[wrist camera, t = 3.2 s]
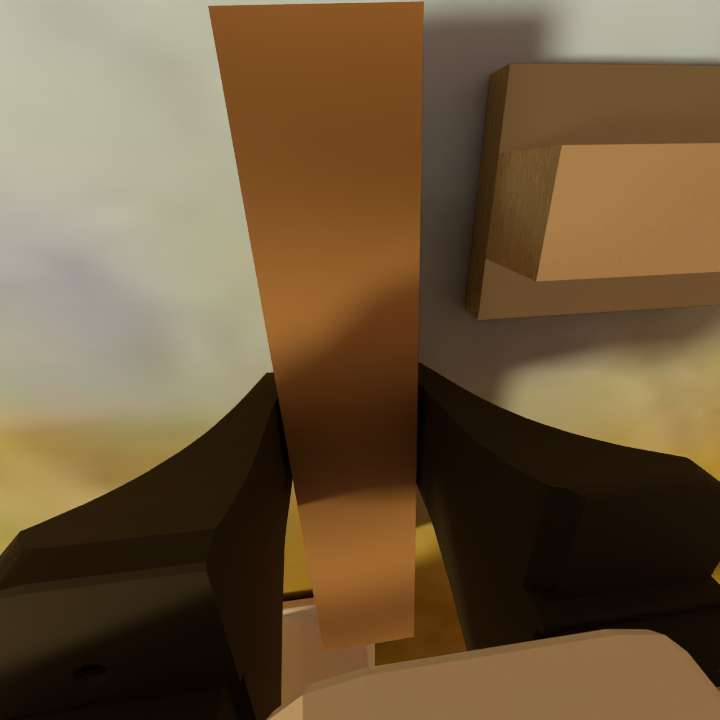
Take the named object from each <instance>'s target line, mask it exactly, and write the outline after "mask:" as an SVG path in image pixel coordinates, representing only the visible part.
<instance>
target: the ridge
mask: <svg viewBox="0 0 720 720" xmlns="http://www.w3.org/2000/svg"><path fill="white" fill-rule="evenodd" d="M706 305H720V66H708V65H623V64H538V63H510V64H508V65H506V66H505V67H503V68H501V69H499V70H498V71H496V72H494V73H492V74H491V75H490V84H489V93H488V102H487V111H486V121H485V130H484V139H483V148H482V157H481V167H480V176H479V185H478V194H477V203H476V213H475V222H474V231H473V240H472V249H471V259H470V268H469V277H468V286H467V295H466V305H465V310H466V311H468V312H469V313H470V314H471V315H472V316H474V317H475V318H476V319H477V320H486V319H501V318H517V317H533V316H549V315H564V314H580V313H596V312H612V311H627V310H643V309H659V308H675V307H690V306H706Z"/></svg>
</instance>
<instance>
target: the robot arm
mask: <svg viewBox="0 0 720 720" xmlns="http://www.w3.org/2000/svg"><path fill="white" fill-rule="evenodd" d="M292 480H293V477H292V472H291V466H290V461H289V455H288V449H287V444H286V438H285V433H284V427H283V421H282V416H281V410H280V404H279V399H278V393H277V388H276V382H275V376H274V372H272V373H266V374H265V375H264V376H263V377H262V378H261V379H260V381H259V382H258V383H257V384H256V385H255V386H254V387H253V388H252V389H251V391H250V392H249V393H248V394H247V395H246V396H245V397H244V398H243V399H242V400H241V401H240V402H239V403H238V404H237V405H236V406H235V407H234V408H233V409H232V410H231V411H230V412H229V413H228V414H227V415H226V416H225V417H223V418H222V419H221V420H220V421H219V422H218V423H217V424H216V425H215V426H213V427H212V428H211V429H210V430H209V431H207V432H206V433H205V434H204V435H202V436H201V437H200V438H198V439H197V440H196V441H194V442H193V443H192V444H190V445H189V446H187V447H186V448H185V449H183V450H182V451H180V452H179V453H177V454H175V455H174V456H172V457H171V458H169V459H167V460H166V461H164V462H163V463H161V464H159V465H158V466H156V467H155V468H153V469H151V470H150V471H148V472H146V473H145V474H143V475H141V476H139V477H137V478H135V479H134V480H132V481H130V482H128V483H126V484H124V485H122V486H121V487H119V488H117V489H115V490H113V491H111V492H109V493H107V494H105V495H103V496H101V497H98V498H96V499H94V500H92V501H90V502H88V503H86V504H84V505H81V506H79V507H77V508H74V509H72V510H70V511H67V512H65V513H63V514H60V515H58V516H56V517H54V518H51V519H49V520H47V521H44V522H42V523H40V524H37V525H35V526H32V527H30V528H27V529H25V530H22V531H20V532H19V534H18V535H17V536H16V537H15V538H14V539H13V541H12V542H11V543H10V544H9V545H8V547H7V548H6V549H5V550H4V552H3V553H2V554H1V555H0V720H720V584H719V583H718V582H716V581H715V580H714V579H713V578H712V577H711V574H712V573H713V571H714V570H715V568H716V566H717V565H718V563H719V561H720V481H718V480H717V479H716V478H714V477H713V476H712V475H710V474H709V473H708V472H706V471H705V470H704V469H702V468H701V467H700V466H698V465H697V464H696V463H694V462H693V461H691V460H690V459H688V458H686V457H681V456H675V455H670V454H664V453H658V452H653V451H647V450H642V449H636V448H631V447H625V446H621V445H616V444H612V443H608V442H604V441H600V440H596V439H591V438H587V437H584V436H580V435H576V434H573V433H569V432H566V431H563V430H560V429H556V428H553V427H550V426H547V425H544V424H541V423H538V422H535V421H533V420H530V419H527V418H524V417H522V416H520V415H517V414H515V413H512V412H510V411H507V410H505V409H503V408H500V407H498V406H496V405H494V404H492V403H490V402H488V401H486V400H484V399H482V398H480V397H478V396H476V395H474V394H472V393H470V392H469V391H467V390H465V389H463V388H461V387H460V386H458V385H456V384H455V383H453V382H451V381H450V380H448V379H446V378H445V377H443V376H441V375H440V374H438V373H436V372H435V371H433V370H432V369H430V368H428V367H427V366H425V365H423V364H421V363H419V362H418V405H417V471H416V484H417V486H418V488H419V491H420V493H421V496H422V498H423V501H424V503H425V505H426V508H427V510H428V513H429V516H430V518H431V521H432V524H433V527H434V530H435V533H436V537H437V540H438V544H439V547H440V551H441V554H442V557H443V561H444V564H445V568H446V572H447V575H448V579H449V582H450V586H451V590H452V593H453V597H454V601H455V605H456V608H457V612H458V616H459V620H460V624H461V628H462V632H463V636H464V640H465V643H466V647H467V651H466V652H460V653H453V654H447V655H441V656H435V657H428V658H422V659H416V660H410V661H403V662H397V663H391V664H385V665H378V666H375V644H370V645H364V646H358V647H353V648H347V649H341V650H335V651H330V652H324V651H323V645H322V640H321V634H320V629H319V623H318V617H317V612H316V606H315V601H314V597H313V598H306V599H299V600H292V601H284V602H283V579H284V547H285V535H286V525H287V518H288V510H289V503H290V495H291V488H292Z"/></svg>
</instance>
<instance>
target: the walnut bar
mask: <svg viewBox="0 0 720 720" xmlns="http://www.w3.org/2000/svg"><path fill="white" fill-rule="evenodd" d="M208 7H209V12H210V18H211V24H212V29H213V35H214V40H215V46H216V52H217V57H218V63H219V68H220V74H221V80H222V85H223V91H224V96H225V102H226V108H227V113H228V119H229V124H230V130H231V136H232V141H233V147H234V152H235V158H236V164H237V169H238V175H239V180H240V186H241V192H242V197H243V203H244V208H245V214H246V220H247V225H248V231H249V236H250V242H251V248H252V253H253V259H254V264H255V270H256V276H257V281H258V287H259V292H260V298H261V304H262V309H263V315H264V320H265V326H266V332H267V337H268V343H269V348H270V354H271V360H272V365H273V371H274V376H275V382H276V388H277V393H278V399H279V404H280V410H281V416H282V421H283V427H284V433H285V438H286V444H287V449H288V455H289V461H290V466H291V472H292V477H293V483H294V489H295V494H296V500H297V505H298V511H299V517H300V522H301V528H302V533H303V539H304V545H305V550H306V556H307V561H308V567H309V573H310V578H311V584H312V589H313V595H314V601H315V606H316V612H317V617H318V623H319V629H320V634H321V640H322V645H323V651H324V652H330V651H335V650H341V649H347V648H353V647H358V646H364V645H370V644H376V643H381V642H387V641H393V640H399V639H404V638H410V637H414V601H415V536H416V471H417V405H418V340H419V275H420V210H421V144H422V79H423V14H424V2H382V3H333V4H284V5H234V6H208Z"/></svg>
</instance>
